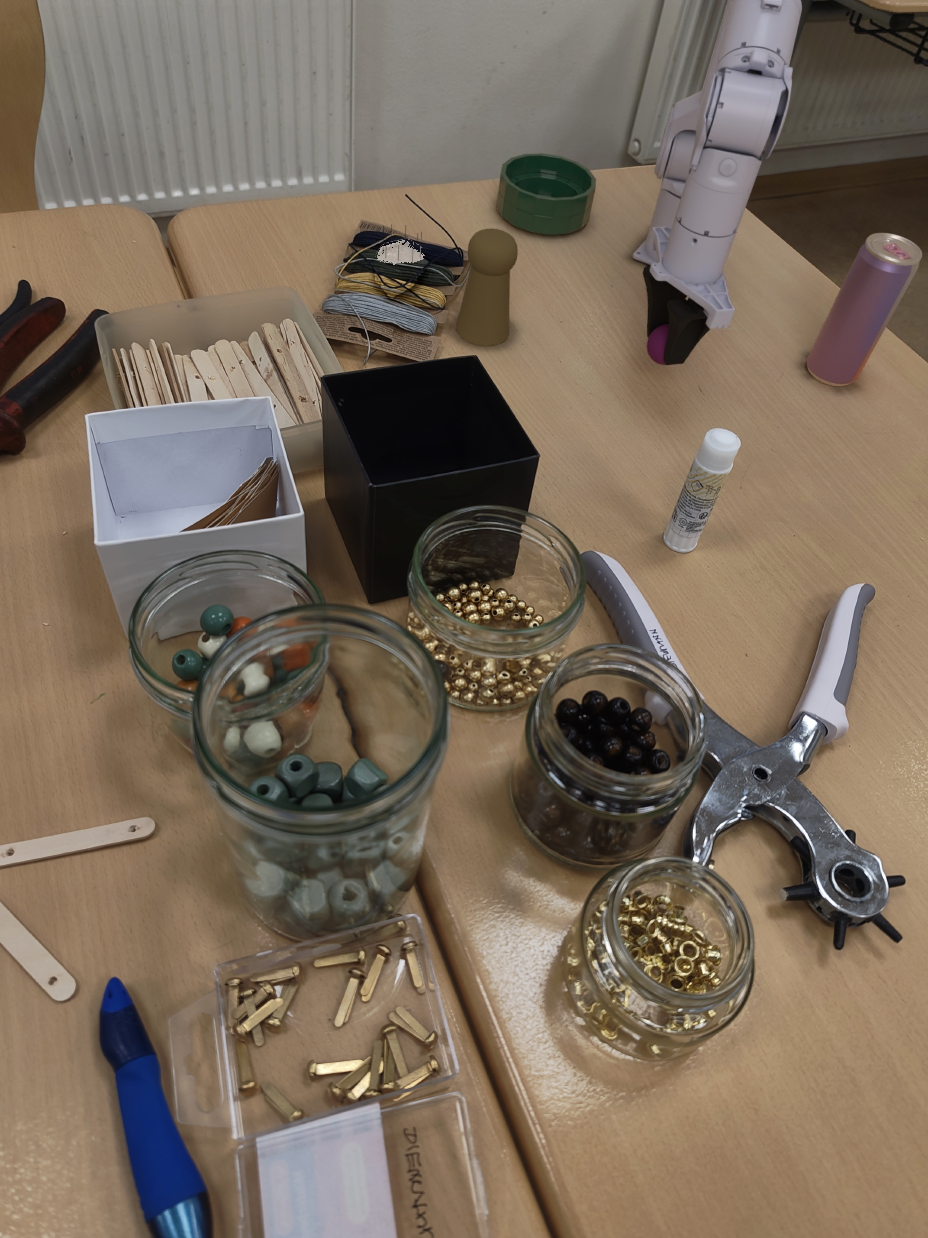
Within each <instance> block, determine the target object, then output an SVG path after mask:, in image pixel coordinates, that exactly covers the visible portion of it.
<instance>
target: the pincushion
mask: <svg viewBox="0 0 928 1238" xmlns="http://www.w3.org/2000/svg"><path fill="white" fill-rule="evenodd" d="M390 225H391V226H390V227H391V228H390V240H392V238H393V237H392V236H393V235H392V234H393V224H390ZM406 233H407V226H405V230H404V239H407V238H406V236H407V234H406ZM416 236H417V238H416V244H417V245H419V244H418V241H419V240H418V239H419V234H417V235H416ZM422 236H423V232H422V231H421V232H420V239H422ZM384 237H385V238H384ZM384 240H385V241H384ZM401 240H402V241H399V240H397V241H398V242H396V243H392V244H389V245H386V246H382V245H384V244H385V243H388V242H387V235H385V225H383V226H382V245H381V246H382V247H381V246H380V248H379V249H380V250H379V249H378V250H379V252H378V251H377V252H378V255H380V256H378V255H377V258H378V259H377V260H381V261H383V260H384V261H385V262H386V261H388V262H386V263H389V262H390V263H391V262H392V263H393V265H395V264H396V263H401V262H402V263H404V262H407V263H408V262H409V263H411V262H412V263H414V262H417V261H420V260H423V259H424V258H423V256H425V255H424V254H423V253H422V254H423V255H422V254H421V248H422V245H420V252H417V251H418V250H416V249H413V248H414V247H413V246H412V247H413V248H412V247H411V248H410V246H411V245H410V246H409V244H410V243H409V242H408V241H407V242H406V243H405V244H404V245H402V243H404V242H405V240H403V239H401ZM384 242H385V243H384ZM399 242H400V243H399ZM413 245H414V241H413ZM408 246H409V247H408ZM392 247H393V248H392ZM383 250H384V251H383ZM383 252H384V253H383ZM382 253H383V254H382ZM381 261H380V262H381ZM385 262H384V263H385Z"/></svg>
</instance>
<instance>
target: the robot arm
mask: <svg viewBox="0 0 928 1238" xmlns="http://www.w3.org/2000/svg"><path fill="white" fill-rule="evenodd" d="M802 11H803V4H802V0H727V2H726V5H725V9H724V12H723V15H722V19H721V23H720V26H719V29H718V33H717V35H716V40H715V43H714V46H713V50H712V54H711V57H710V61H709V64H708V67H707V71H706V74H705V78H704V81H703V84H702V89H701V90H699V91H698V92H696V93H694V94H691V95H690V96H687V97H685V98H683V99H680V100H678V101H677V102H676V103H675V104H674V107H672V108H671V109H670V112H669V113H670V114H669V117H668V121H667V122H666V124H665V128H664V130H663V134H662V138H661V141H660V145H659V149H658V154H657V157H656V162H655V167H654V171H653V172H654V175H655V176H656V179H657V180H661V184H660V188H659V192H658V196H657V200H656V203H655V208H654V210H653V214H652V217H651V221H650V226H649V229H648V232H647V236H646V239H645V240H644V241H642V243H641V244H640V245H639V246H638V248H637V249H636V250H635V251H634V252H633V253H632V256H631V257H632V259H634V260H636V261H639V262H642V263H644V264H647V265H645V266H644V267H643V269H642V276H643V279H644V283H645V290H646V299H647V316H646V317H647V319H646V337H647V339H648V338H649V336H650V334H651V333H652V331H653V330H654V329H656V328H657V327H659V326H661V325H665V324H669V332H668V338H667V342H666V346H665V351H664V362H665V364H666V365H665V366H675V365H683V364H685V362H686V361H687V359H688V358H689V357H690V355H691V354H692V352H693V351H694V350H695V347H696V346H697V345H698V344H699V343H700V341H701V340H702V339H703V338H704V336H705V335H706V334H707V333H708V332H709V331H710V330H718V329H728V328H730V326H731V322H732V320H733V317H734V315H735V313H736V310H737V309H736V308H735V306H734V305H733V304H732V302H731V297H730V294H729V290H728V285H727V281H726V276H725V271H724V268H725V266H726V263H727V260H728V258H729V254H730V253H731V249H732V246H733V244H734V241H735V238H736V235H737V233H738V229H739V226H740V224H741V221H742V218H743V216H744V213H745V210H746V207H747V205H748V202H749V199H750V196H751V193H752V191H753V187H754V185H755V182H756V179H757V177H758V174H759V171H760V169H761V166H762V163H763V159H766V160H767V159H768V158H770V156H771V155H772V152H773V150H774V149H775V147H776V145H777V142H778V140H779V138H780V135H781V133H782V130H783V127H784V125H785V121H786V118H787V114H788V110H789V106H790V101H791V96H792V95H791V94H792V86H793V79H792V77H793V72H794V70H793V66H792V67H791V66H790V64H791V60H792V55H793V51H794V46H795V42H796V38H797V33H798V27H799V25H800V20H801V15H802ZM764 149H765V150H764ZM763 151H764V158H763Z"/></svg>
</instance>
